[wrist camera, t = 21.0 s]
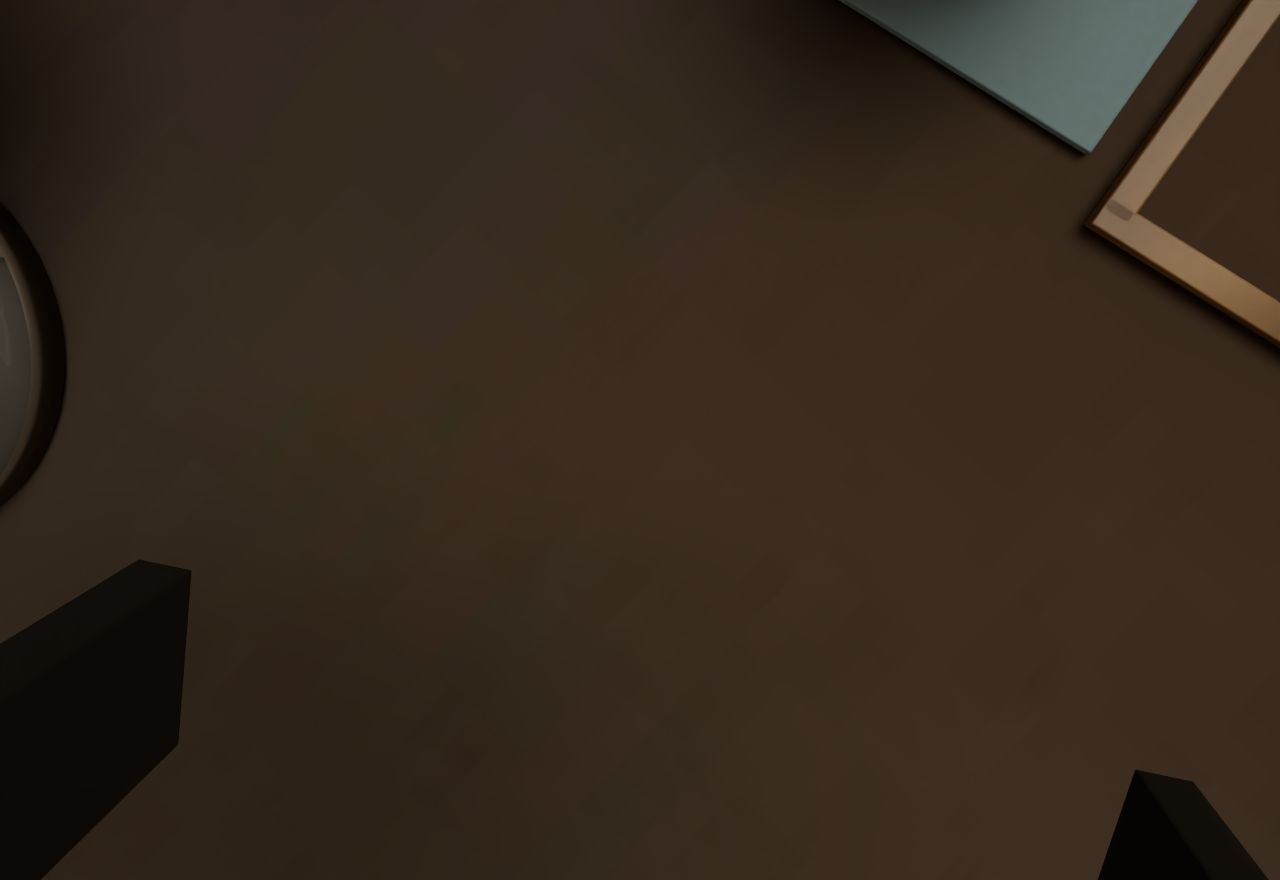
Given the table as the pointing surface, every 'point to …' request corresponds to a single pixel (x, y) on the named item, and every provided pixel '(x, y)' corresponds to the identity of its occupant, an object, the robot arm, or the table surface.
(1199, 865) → the robot arm
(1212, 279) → the dish rack
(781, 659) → the table surface
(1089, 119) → the drying mat
